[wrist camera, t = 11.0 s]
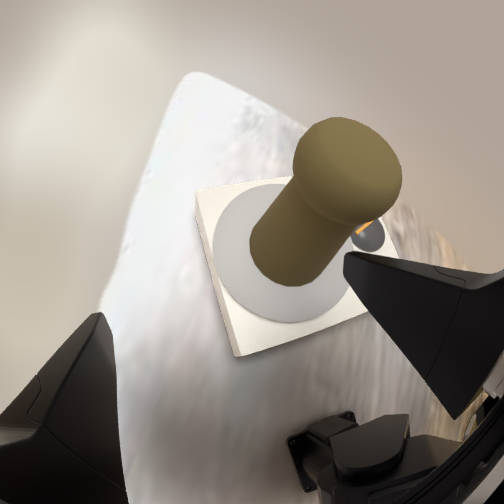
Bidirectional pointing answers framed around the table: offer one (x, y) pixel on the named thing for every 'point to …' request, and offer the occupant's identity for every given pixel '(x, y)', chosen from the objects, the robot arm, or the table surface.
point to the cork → (325, 200)
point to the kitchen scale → (260, 287)
